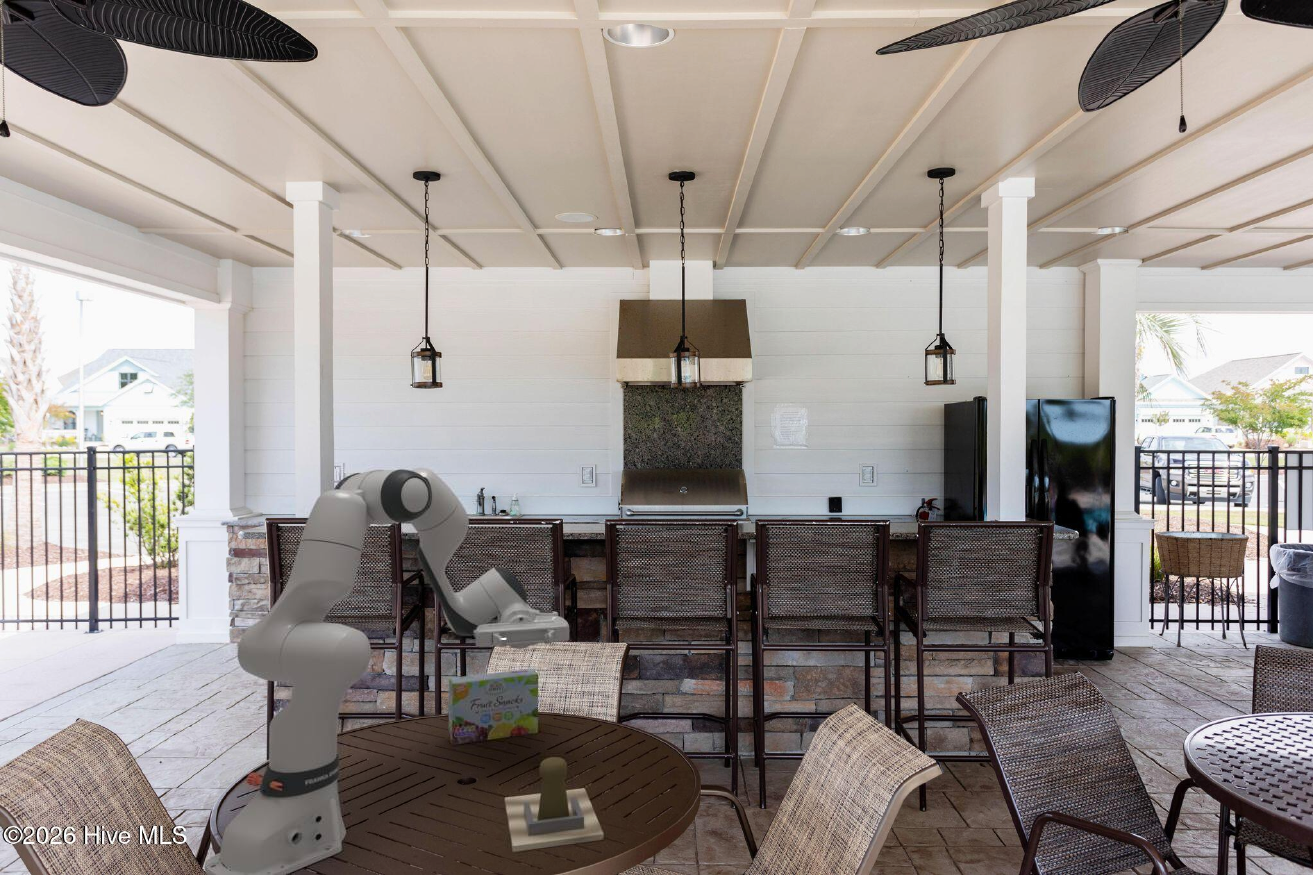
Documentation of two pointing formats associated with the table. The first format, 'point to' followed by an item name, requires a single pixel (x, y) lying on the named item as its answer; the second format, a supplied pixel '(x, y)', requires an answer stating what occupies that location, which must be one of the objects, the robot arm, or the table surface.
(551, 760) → the olive pawn
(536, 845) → the board
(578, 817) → the frame
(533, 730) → the snack box
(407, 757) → the table surface
